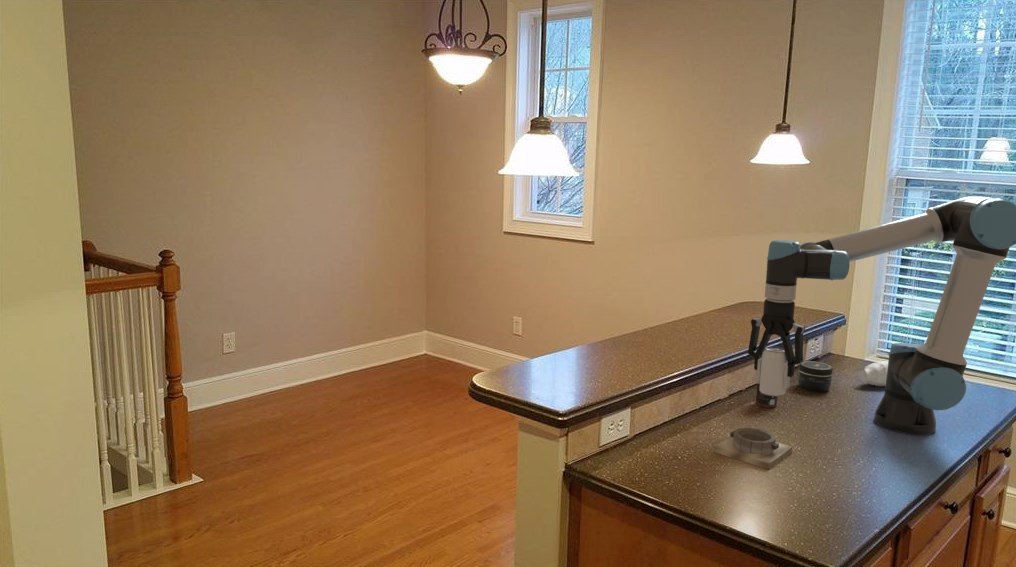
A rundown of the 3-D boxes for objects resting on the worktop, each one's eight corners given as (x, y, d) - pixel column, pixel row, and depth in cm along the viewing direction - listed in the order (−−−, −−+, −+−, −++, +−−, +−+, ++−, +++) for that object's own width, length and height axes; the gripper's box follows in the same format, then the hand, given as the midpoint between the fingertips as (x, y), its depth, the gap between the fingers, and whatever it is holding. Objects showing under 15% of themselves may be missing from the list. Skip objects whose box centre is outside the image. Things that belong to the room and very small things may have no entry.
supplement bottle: (778, 409, 214) (782, 372, 212) (756, 407, 215) (760, 370, 213) (775, 402, 220) (778, 366, 218) (754, 401, 221) (757, 364, 219)
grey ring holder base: (791, 452, 183) (793, 435, 182) (769, 469, 173) (771, 451, 172) (738, 436, 192) (739, 420, 191) (713, 452, 182) (715, 434, 181)
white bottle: (850, 383, 242) (853, 360, 240) (894, 379, 248) (897, 356, 247) (870, 391, 234) (873, 367, 233) (914, 386, 241) (917, 363, 239)
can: (755, 389, 199) (758, 346, 197) (778, 388, 200) (781, 345, 198) (765, 396, 193) (768, 352, 191) (789, 396, 193) (793, 352, 191)
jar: (831, 386, 238) (833, 363, 237) (830, 395, 229) (832, 371, 228) (797, 381, 242) (800, 358, 241) (795, 389, 233) (798, 366, 232)
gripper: (737, 296, 195) (731, 380, 199) (812, 307, 183) (804, 396, 187) (749, 292, 201) (743, 374, 205) (822, 303, 188) (814, 389, 192)
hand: (772, 384), depth 196 cm, fingers closed on can, 6 cm apart
